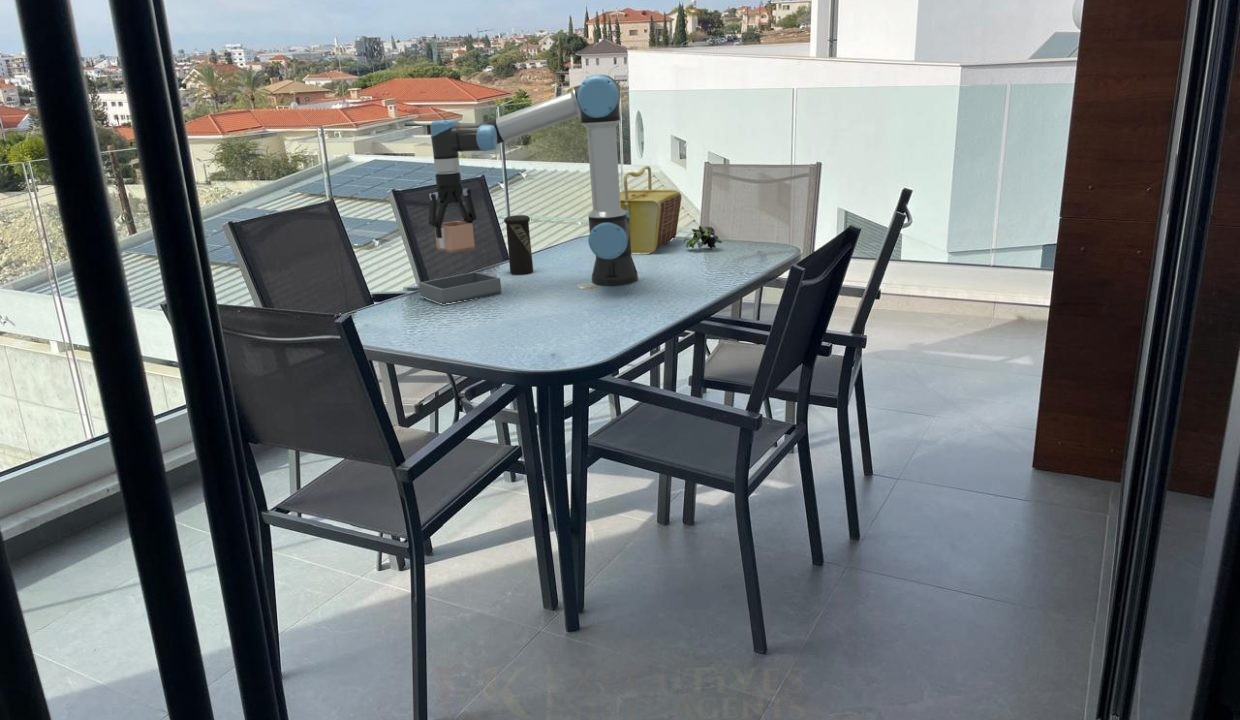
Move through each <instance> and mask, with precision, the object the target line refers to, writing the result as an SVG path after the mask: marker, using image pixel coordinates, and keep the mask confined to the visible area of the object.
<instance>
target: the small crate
mask: <svg viewBox="0 0 1240 720" xmlns="http://www.w3.org/2000/svg"><path fill="white" fill-rule="evenodd" d="M441 227H444V233H445V243H446V249H443V248H440V244H439V238H437V237H436V230H435V229H434V234H435V243H436V250H438V251H441V252H446V253H450V254H455V253H460V252H467V251H472V250H473V251H474V250H475V249H476V244H475V237H474V236H475V235H474V226H473V223H467V222H465V221H459V220H455V221H453V220H452V221H447V222H442V226H441Z"/></svg>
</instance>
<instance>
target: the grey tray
mask: <svg viewBox="0 0 1240 720" xmlns="http://www.w3.org/2000/svg"><path fill="white" fill-rule="evenodd" d="M418 284H419V285H418V286H419V292H420V293H419V294H420V295H419V296H420V297H421V296H423V297H426V298H428V299H431V300H434V301H436V302H439V303H442V304H446V303H452V302H458V301H464V300H469V301H471V300H470V299H474V300H476V299H475V298H478V299H481V298H480V297H483V298H487V297H486V296H488V297H491V295H492V296H495V295H496V294H497V295H501V293H502V284H501V277H497V276H494V275H489V274H485V273H483V272H480V271H479V272H478V271H473V272H467V273H461V274H456V275H453V276H452V275H451V276H447V277H440V278H436V279H435V278H434V279H430V280H426V281H421V282H420V281H419V282H418ZM502 294H503V293H502ZM497 295H496V296H497ZM464 302H465V301H464Z"/></svg>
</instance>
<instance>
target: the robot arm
mask: <svg viewBox="0 0 1240 720" xmlns="http://www.w3.org/2000/svg"><path fill="white" fill-rule="evenodd" d="M621 97H622V95H621V89H620V86H619V84H618V83H617V81H616V80H615V79H614V78H613V77H611V76H610V75H606V74H594V75H593V74H591V75H590V76H588V77H586V78H585V79H584V80H582V82H581V83H580V84H579V85H577V86H574V87H572V89H571V91H569V92H567V93H563V94H561V95H558V96H556V97H553V98H550V99H547V100H544V101H542V102H538V103H536V104H533V105H530V106H527V107H524V108H521V109H518V110H516V111H514V112H510V113H507V114H505V115H502V116H499V117H495V118H494V119H490V120H488V121H485V122H482V123H479V124H476V125H465V126H464V125H463V126H462V125H461V126H459V125H457V124H456V121H455V120H454V119H442V120H441V119H440V120H434V121H432V122H431V123H430V138H431V139H430V140H431V146H432V154H433V162H434V163H433V164H434V171H435V173H436V174H435V183H436V184H435V185H436V192H433V193H430V192H429V193H428V194H427V196H428V200H429V211H428V226H430V227H434V231H435V230H436V235H435V238H436V237H437V238H439V244H440V248H443V249H446V243H445V233H444V227H441V226H442V223H444V222H443V221H444V217H445V215H446V210H447V208H448V205H450V204H452V203H454V204H455V206H456V207H457V209H458V211H459V213H460V215H461V217H462V219H463V222H467V223H472V224H473V222H474V221H476V220H477V215H476V211H475V207H474V203H473V200H472V199H473V198H472V189H470V188H463V187H462V176H461V173H460V169H461V168H460V167H461V166H460V158H459V153H462V152H487V151H488V152H489V151H494V150H496V148H497V146H498V145H499V144H502V143H505V142H507V141H510V140H514V139H516V138H519V137H522V136H525V135H528V134H530V133H534V132H536V131H540V130H542V129H545V128H548V127H551V126H553V125H557V124H559V123H562V122H565V121H569V120H571V119H574V118H577V117H580V123H581V125H582V126H583V127H585V130H586V133H587V135H586V136H587V148H588V163H589V173H590V175H589V176H590V187H591V189H590V190H591V201H592V203H591V204H592V210H591V211H590V212H589V213H588V215H587V216H588V227H589V229H588V230H589V234H588V240H587V241H588V246H589V249H590V251H591V252H592V253H593V254H594V255H595V261H594V265H593V270H592V274H591V282H592V283H593V284H595V285H599V286H601V285H602V286H621V285H622V286H623V285H627V284H632V283H635V282H637V281H638V280H639V277H638V276H639V275H638V270H637V268H636V264H635V263H634V259H633V257H632V254H631V239H630V217H629V212H628V211H626V210H623V209H622V208H621V204H620V192H621V191H620V177H619V176H620V175H619V161H618V148H617V147H618V146H617V145H618V143H617V131H616V128H617V126H618V125H619V124H620V122H621V113H620V110H621V109H620V101H621ZM462 195H463V199H464V202H465V205H464V203H463V199H462V198H461V196H462ZM438 197H439V203H438V201H437V200H438ZM437 205H438V206H439V207H438V206H437ZM465 206H466V207H465ZM437 208H438V210H437Z"/></svg>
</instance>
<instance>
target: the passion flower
mask: <svg viewBox="0 0 1240 720" xmlns="http://www.w3.org/2000/svg"><path fill="white" fill-rule="evenodd" d="M691 231H692V232H693V235H692V238H690V239H689V238H687V237H685V238H684V240H683V243H684V244H686V245H685V247H686V248H688V247H689V248H690V247H692V249H694V247H695V245H696V244H697V251H698V252H699V251H700V249H701V248H702V247H703V246H706V245H707V247H710V248H713V249H717V248H716V247H717V246H716V243H717V244H722V242H723V241H722V240H720V238H719V236H718V235H717V234H716V232H715V229H714V228H713V227H712V226H709V225H707V226H704V227H703V226H702V225H699V226H698V228H697V229H696V228H693V227H692V229H691ZM687 240H688V241H687ZM700 240H701V241H700ZM686 241H687V242H686ZM710 248H709V249H710Z"/></svg>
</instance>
